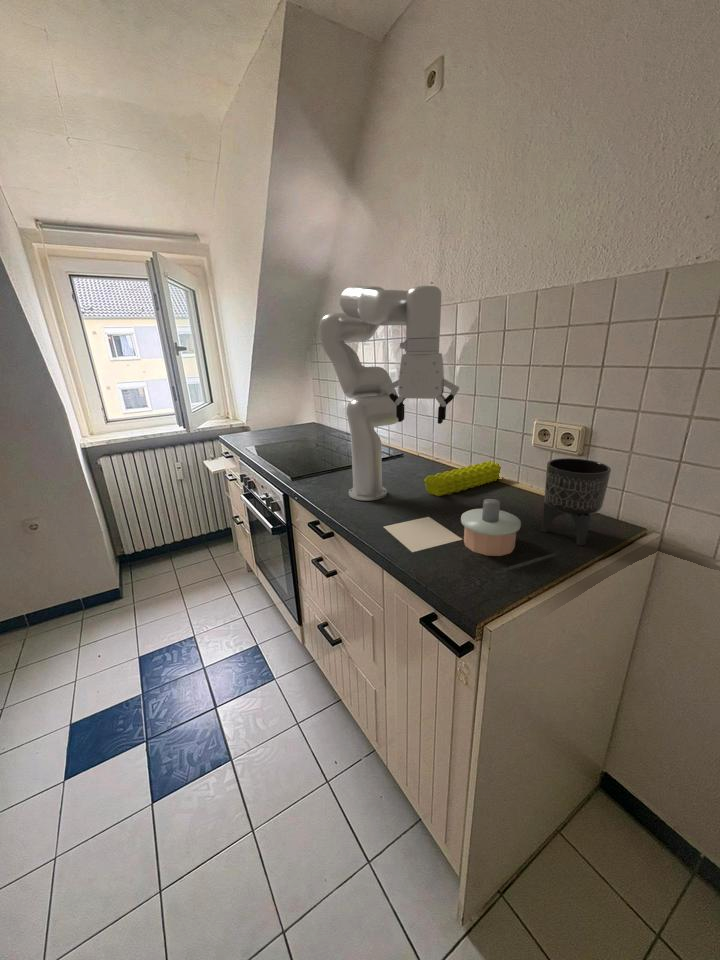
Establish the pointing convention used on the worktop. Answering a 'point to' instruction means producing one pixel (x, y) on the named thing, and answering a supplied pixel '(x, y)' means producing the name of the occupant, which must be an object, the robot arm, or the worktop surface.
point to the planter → (574, 492)
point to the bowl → (489, 543)
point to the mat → (421, 534)
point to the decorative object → (462, 478)
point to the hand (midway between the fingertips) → (420, 421)
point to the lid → (490, 519)
